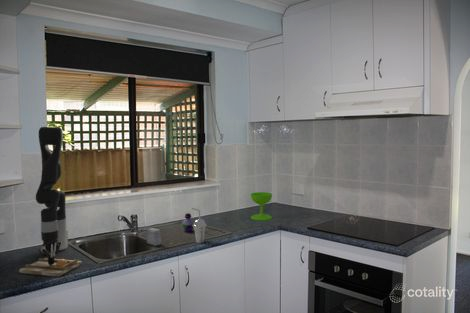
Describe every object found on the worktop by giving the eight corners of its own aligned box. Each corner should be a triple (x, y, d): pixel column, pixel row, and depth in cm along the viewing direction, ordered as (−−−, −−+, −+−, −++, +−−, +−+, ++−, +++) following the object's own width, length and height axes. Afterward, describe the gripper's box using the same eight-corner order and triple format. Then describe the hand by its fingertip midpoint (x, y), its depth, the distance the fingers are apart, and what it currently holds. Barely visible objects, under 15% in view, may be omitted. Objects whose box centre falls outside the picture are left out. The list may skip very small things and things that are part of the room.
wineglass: (261, 214, 304) (261, 191, 303) (276, 217, 292) (276, 194, 291) (246, 217, 294) (246, 194, 293) (261, 221, 282) (260, 196, 281)
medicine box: (161, 244, 229) (160, 229, 229) (154, 246, 226) (154, 231, 226) (153, 241, 235) (152, 227, 234) (146, 243, 231) (146, 229, 231)
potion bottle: (180, 233, 253) (179, 214, 252) (183, 229, 262) (183, 212, 261) (193, 233, 252) (192, 215, 251) (196, 229, 261) (195, 212, 260)
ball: (71, 263, 192) (65, 269, 193) (65, 255, 192) (59, 261, 193) (64, 267, 187) (58, 273, 188) (58, 258, 188) (52, 264, 189)
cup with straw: (197, 244, 228) (196, 210, 226) (189, 241, 235) (189, 208, 234) (209, 242, 233) (209, 208, 231) (201, 238, 240) (201, 206, 238)
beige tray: (45, 260, 203) (44, 254, 203) (81, 264, 197) (81, 257, 197) (19, 272, 186) (19, 265, 186) (58, 276, 181) (58, 269, 181)
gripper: (52, 225, 198) (54, 259, 199) (33, 232, 185) (34, 268, 186) (65, 226, 196) (66, 260, 197) (46, 233, 183) (48, 269, 185)
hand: (51, 264), depth 192 cm, fingers closed
